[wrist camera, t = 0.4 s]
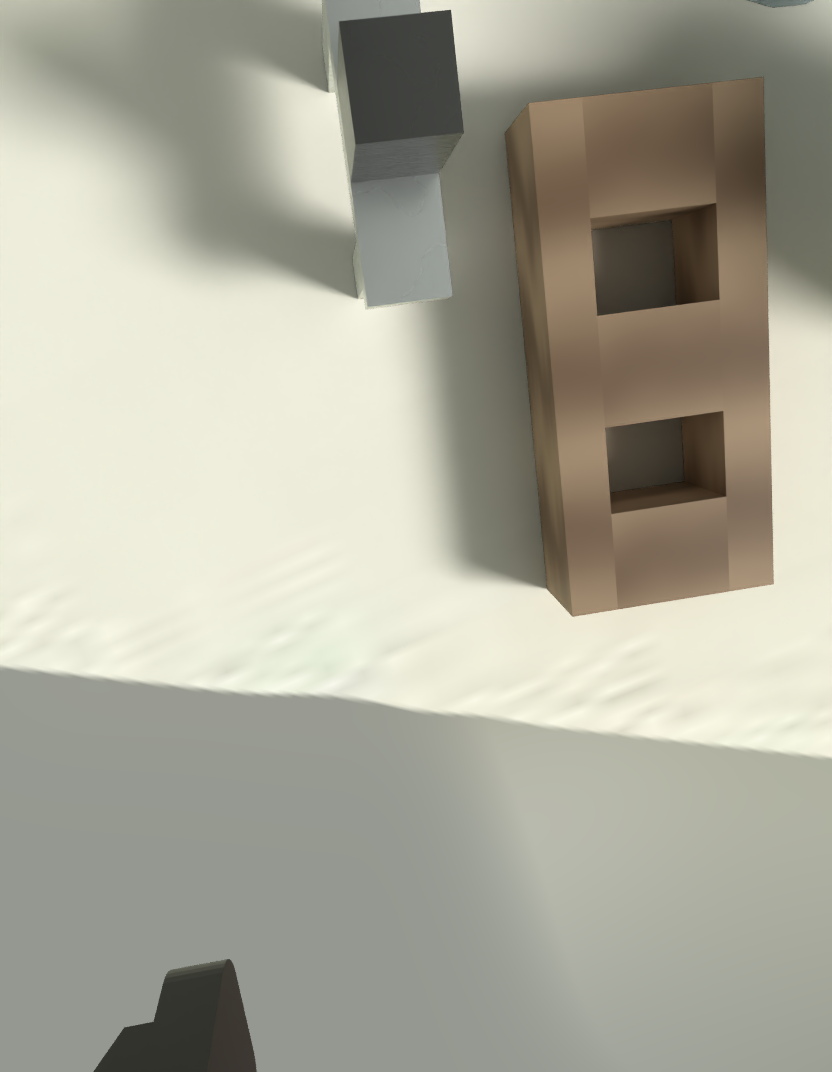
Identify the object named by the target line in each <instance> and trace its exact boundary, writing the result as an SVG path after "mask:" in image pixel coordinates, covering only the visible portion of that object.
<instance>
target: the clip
mask: <svg viewBox="0 0 832 1072" xmlns="http://www.w3.org/2000/svg"><path fill="white" fill-rule="evenodd" d="M322 43H323V55H324V62H325V69H326V76H327V83H328V90H329V93H332V92H335V93H336V101H337V108H338V115H339V122H340V129H341V136H342V144H343V151H344V158H345V165H346V172H347V180H348V187H349V194H350V201H351V208H352V216H353V223H354V230H355V237H356V247H355V251H354V255H353V259H352V261H353V268H354V275H355V282H356V289H357V296H358V299H362V298H364V302H365V309H374V308H382V307H389V306H397V305H405V304H413V303H420V302H428V301H436V300H444V299H448V298H450V297H452V296H453V294H452V285H451V276H450V267H449V258H448V249H447V241H446V232H445V223H444V214H443V205H442V196H441V187H440V178H439V172H440V170H441V169H442V167H443V166H444V164H445V162H446V161H447V159H448V157H449V156H450V154H451V152H452V151H453V149H454V147H455V146H456V144H457V143H458V141H459V139H460V138H461V136H462V134H463V133H464V131H463V122H462V112H461V102H460V93H459V83H458V74H457V64H456V55H455V45H454V35H453V26H452V16H451V10H445V11H435V12H425V13H421V10H420V1H419V0H322Z"/></svg>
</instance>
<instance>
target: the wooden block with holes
mask: <svg viewBox="0 0 832 1072" xmlns="http://www.w3.org/2000/svg"><path fill="white" fill-rule="evenodd" d="M505 140H506V150H507V161H508V172H509V183H510V194H511V204H512V215H513V226H514V237H515V247H516V258H517V269H518V280H519V290H520V301H521V312H522V323H523V333H524V344H525V355H526V366H527V377H528V387H529V398H530V409H531V420H532V430H533V441H534V452H535V463H536V473H537V484H538V495H539V506H540V516H541V527H542V538H543V549H544V560H545V570H546V581H547V590H548V591H549V592H550V593H551V594H552V595H553V596H554V597H555V598H556V599H557V600H558V601H559V602H560V604H561V605H562V606H563V607H564V608H565V609H566V610H567V611H568V612H569V613H570V614H571V615H572V616H573V617H574V616H580V615H586V614H592V613H598V612H604V611H611V610H617V609H623V608H629V607H635V606H641V605H648V604H654V603H660V602H666V601H672V600H678V599H685V598H691V597H697V596H703V595H709V594H715V593H722V592H728V591H734V590H740V589H746V588H752V587H759V586H765V585H771V584H774V579H773V529H772V479H771V429H770V379H769V329H768V278H767V228H766V178H765V128H764V78H763V77H758V78H749V79H740V80H731V81H722V82H713V83H704V84H695V85H686V86H677V87H668V88H659V89H650V90H641V91H632V92H623V93H614V94H605V95H596V96H587V97H578V98H569V99H560V100H551V101H542V102H532V103H528V104H527V106H526V107H525V108H524V109H523V111H522V112H521V113H520V115H519V116H518V117H517V118H516V120H515V121H514V122H513V123H512V125H511V126H510V127H509V128H508V130H507V131H506V132H505ZM668 220H672V227H673V248H674V269H675V291H676V305H675V306H668V307H660V308H653V309H645V310H637V311H630V312H622V313H615V314H607V315H600V316H597V305H596V290H595V276H594V262H593V248H592V234H591V230H596V229H604V228H612V227H620V226H628V225H636V224H644V223H652V222H660V221H668ZM677 417H681V418H682V440H683V461H684V482H678V483H672V484H665V485H658V486H652V487H645V488H638V489H632V490H625V491H619V492H612V493H610V489H609V475H608V460H607V446H606V432H605V428H608V427H615V426H622V425H629V424H636V423H643V422H650V421H657V420H664V419H671V418H677Z"/></svg>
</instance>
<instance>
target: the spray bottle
mask: <svg viewBox="0 0 832 1072" xmlns="http://www.w3.org/2000/svg"><path fill="white" fill-rule="evenodd" d="M749 1H753V2H756V3H760V4H763V5H767V6H770V7H783V6H793V5H803V4H807V3H809V2H811V1H813V0H749Z"/></svg>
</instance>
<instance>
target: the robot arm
mask: <svg viewBox="0 0 832 1072" xmlns="http://www.w3.org/2000/svg"><path fill="white" fill-rule="evenodd" d="M94 1072H256V1063H255V1056H254V1051H253V1046H252V1042H251V1038H250V1033H249V1029H248V1025H247V1020H246V1016H245V1012H244V1007H243V1003H242V998H241V994H240V989H239V985H238V981H237V977H236V972H235V968H234V965H233V963H232V961H231V960H230V959H227V960H221V961H216V962H210V963H206V964H200V965H194V966H189V967H184V968H179V969H173V970H170V971H169V972H168V973H167V974H166V977H165V979H164V983H163V986H162V991H161V994H160V998H159V1003H158V1006H157V1011H156V1014H155V1019H154V1022H151V1023H145V1024H140V1025H135V1026H130V1027H125V1028H124V1029H123V1030H122V1032H121V1033H120V1035H119V1036H118V1037H117V1039H116V1040H115V1042H114V1043H113V1044H112V1046H111V1047H110V1049H109V1050H108V1052H107V1053H106V1055H105V1056H104V1057H103V1059H102V1060H101V1062H100V1063H99V1064H98V1066H97V1067H96V1069H95V1070H94Z"/></svg>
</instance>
